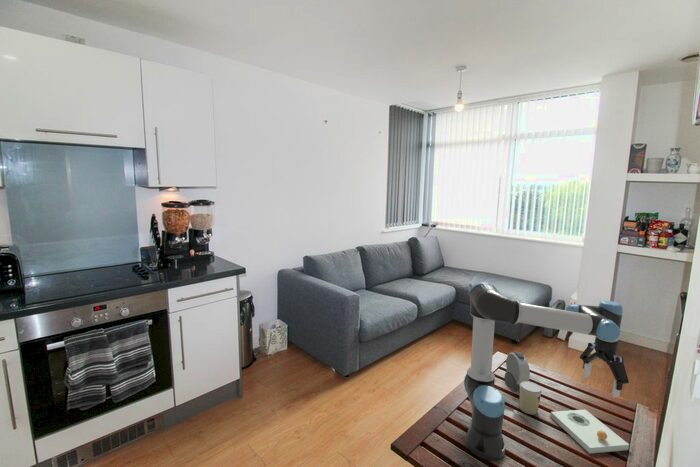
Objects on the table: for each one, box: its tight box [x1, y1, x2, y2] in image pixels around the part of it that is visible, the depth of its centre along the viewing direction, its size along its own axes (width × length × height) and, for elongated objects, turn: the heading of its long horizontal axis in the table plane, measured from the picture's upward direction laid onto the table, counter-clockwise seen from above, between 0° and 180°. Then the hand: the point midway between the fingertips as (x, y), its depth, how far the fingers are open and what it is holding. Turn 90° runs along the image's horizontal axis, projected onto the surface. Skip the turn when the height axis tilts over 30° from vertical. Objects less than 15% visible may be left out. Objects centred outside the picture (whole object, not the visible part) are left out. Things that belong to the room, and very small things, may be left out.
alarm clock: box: [503, 350, 531, 392], centre depth 181 cm, size 16×10×18 cm, turn 179°
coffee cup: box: [518, 380, 543, 415], centre depth 161 cm, size 9×9×12 cm
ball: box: [597, 430, 607, 440], centre depth 140 cm, size 4×4×4 cm
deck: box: [550, 409, 630, 454], centre depth 147 cm, size 22×18×2 cm
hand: (600, 386), depth 141 cm, fingers open, 13 cm apart
